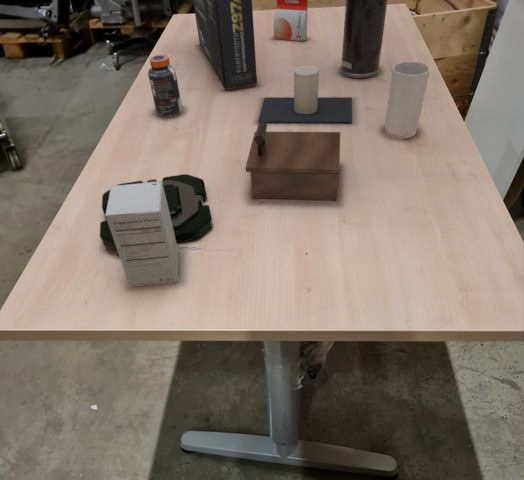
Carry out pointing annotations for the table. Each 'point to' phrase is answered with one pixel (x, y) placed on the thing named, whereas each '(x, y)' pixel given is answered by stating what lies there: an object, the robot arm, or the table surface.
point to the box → (228, 39)
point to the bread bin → (294, 186)
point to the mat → (326, 113)
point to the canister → (306, 89)
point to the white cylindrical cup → (406, 97)
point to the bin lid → (294, 152)
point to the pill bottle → (164, 87)
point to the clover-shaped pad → (175, 208)
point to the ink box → (291, 20)
